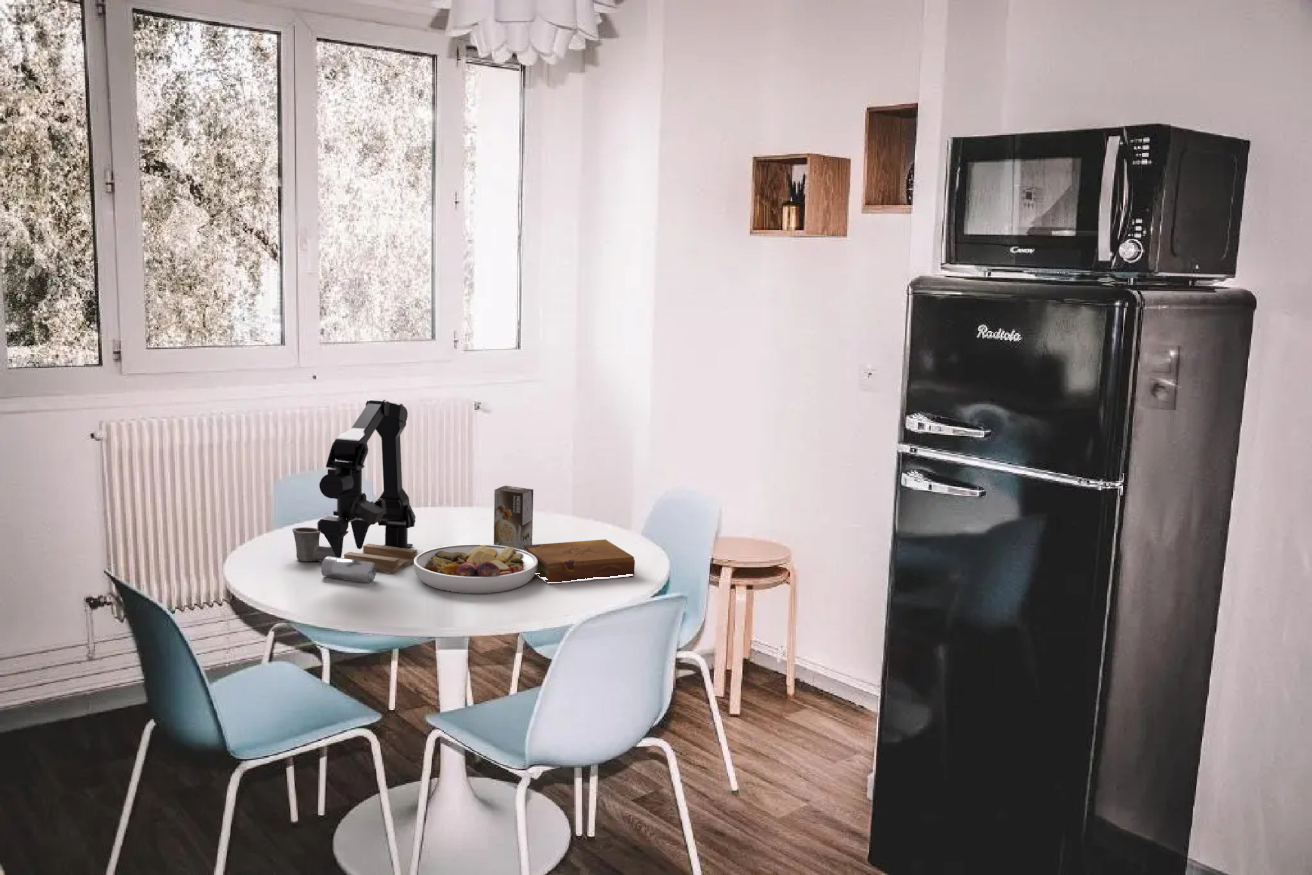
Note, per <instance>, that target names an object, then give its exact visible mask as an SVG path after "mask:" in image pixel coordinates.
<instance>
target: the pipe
mask: <svg viewBox="0 0 1312 875" xmlns="http://www.w3.org/2000/svg"><path fill="white" fill-rule="evenodd" d="M291 531H292V533H293V538H294V541H295V550H296V556H295V557H296V559H297V560H298V561H300V562H323V560H324V559H325V558H326V557H327V556H330V557H336V556H335V554H334V552H333V550H332V548H331V546H324V545H323V546H321V545H320V535H321V531H318V530H317V528H315V527H310V526H309V527H306V526H305V527H294V528H292V529H291Z"/></svg>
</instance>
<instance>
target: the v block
mask: <svg viewBox="0 0 1312 875" xmlns="http://www.w3.org/2000/svg"><path fill="white" fill-rule="evenodd" d="M383 545H384V544H374V543H367V544H363V546H362V552H353V551H348V552H346V553H344V554H343V558H344V559H351V560H359V561H366V562H373V563H375V565H376V572H378V573H379V572H380V573H386V574H392V575H393V574H395V573H397V572H399V571H401V570H402V569H405V568H406V567H408V565H409V566H410V565H414V559H415V557H416V556H417V555H418V550H417V549H411V548H407V549H405V548H398V547H390V546H383Z"/></svg>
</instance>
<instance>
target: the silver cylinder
mask: <svg viewBox="0 0 1312 875" xmlns="http://www.w3.org/2000/svg"><path fill="white" fill-rule="evenodd" d="M321 562H322V563H321V567H320V568H321V569H320V570H321V575H322V576H323V577H324V578H331V579H336V580H337V579H338V580H345V581H351V582H358V583H364V584H370V583H373V582H374V581H375V578H376V575H377V571H376V565H375V563H373V562H366V561H359V560H351V559H344V557H341V558H337V557H330V556H327V557H326V558H325V559H324V560H323V561H321Z"/></svg>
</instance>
